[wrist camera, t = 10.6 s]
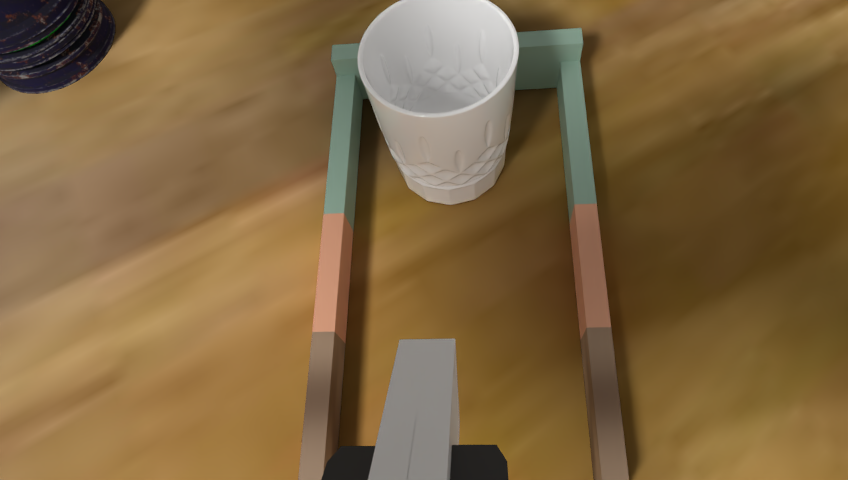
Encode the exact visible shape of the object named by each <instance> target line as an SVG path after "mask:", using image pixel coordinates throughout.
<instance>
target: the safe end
mask: <svg viewBox="0 0 848 480" xmlns="http://www.w3.org/2000/svg"><path fill="white" fill-rule="evenodd" d="M517 36H518V41H519V57H518V65H517V74H516V84H515V90H524V89H541V88H557V97H558V107H559V118H560V128H561V139H562V149H563V160H564V170H565V181H566V192H567V202H568V213H569V223H570V220H571V216H572V212H573V208H574V204H597V201H596V192H595V184H594V175H593V167H592V158H591V150H590V141H589V133H588V124H587V116H586V107H585V99H584V90H583V82H582V73H581V65H580V58H581V52H582V47H583V38H582V30H581V28H573V29H558V30H544V31H529V32H517ZM359 45H360V43H355V44H341V45H332V54H331V62H332V64H333V67H334V70H335V72H336V75H337V79H336V90H335V100H334V111H333V121H332V132H331V142H330V153H329V163H328V174H327V184H326V195H325V205H324V214H334V213H344V214H345V216H346V218H347V220H348V222H349V224H350V226H351V228H352V230H353V232H354V218H355V204H356V190H357V175H358V161H359V147H360V133H361V119H362V105H363V99H369V97H368V95H367V92H366V90H365V87H364V84H363V82H362V79H361V77H360V74H359V70H358V62H357V57H358V49H359Z"/></svg>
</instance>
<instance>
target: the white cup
mask: <svg viewBox="0 0 848 480" xmlns="http://www.w3.org/2000/svg"><path fill="white" fill-rule="evenodd" d="M518 57H519V41H518V36H517V32H516V30H515V27H514V25H513V24H512V22H511V20H510V19H509V17H508V16H507V15H506V14H505V13H504V12H503V11H502V10H501V9H500V8H499V7H498V6H496V5H495V4H493V3H492V2H490V1H488V0H400V1H398V2H396V3H394V4H393V5H391V6H390V7H388V8H387V9H385V10H384V11H383V12H382V13H380V14H379V15H378V16H377V17H376V18H375V19H374V20H373V22H372V23H371V24H370V25H369V27H368V28H367V30H366V31H365V33H364V35H363V37H362V39H361V42H360V45H359V49H358V57H357V62H358V70H359V74H360V77H361V79H362V82H363V84H364V87H365V90H366V92H367V95H368V97H369V100H370V103H371V105H372V108H373V111H374V113H375V116H376V118H377V121H378V124H379V126H380V129H381V131H382V133H383V135H384V138H385V140H386V143H387V145H388V147H389V149H390V152H391V154H392V157H393V159H394V160H395V161H396V163H397V166H398V168H399V170H400V172H401V174H402V176H403V178H404V180H405V182H406V184H407V186H408V188H409V189H411V190H412V191H413V192H415V193H416V194H418V195H419V196H421V197H422V198H424V199H425V200H427V201H430V202H436V203H442V204H447V205H454V204H458V203H462V202H466V201H471V200H475V199H476V198H478V197H479V196H480V195H482V194H483V193H484V192H486V191H487V190H488V189H490V188H491V187H492V186H494V184H495V182H496V180H497V178H498V177H499V175H500V173H501V171H502V169H503V167H504V162H505V151H506V145H507V141H508V138H509V132H510V124H511V118H512V111H513V103H514V94H515V84H516V74H517V65H518Z"/></svg>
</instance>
